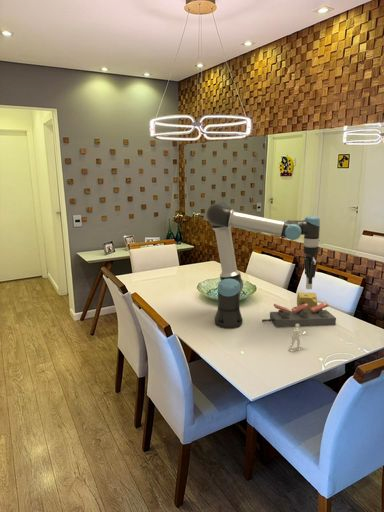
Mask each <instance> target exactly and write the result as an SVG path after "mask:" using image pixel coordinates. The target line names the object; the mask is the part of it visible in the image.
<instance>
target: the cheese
mask: <svg viewBox="0 0 384 512" xmlns="http://www.w3.org/2000/svg"><path fill="white" fill-rule="evenodd" d="M305 303H307V304H308V305H309V306H310V307H308V308H306V309H303V311H307V310H310V308H312V307H314V306H317V305H318V298H317V293H316V292H300V291H298V292H297V295H296V307H297V306H300V305H302V304H305Z"/></svg>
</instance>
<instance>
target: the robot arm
mask: <svg viewBox="0 0 384 512" xmlns="http://www.w3.org/2000/svg"><path fill="white" fill-rule="evenodd" d="M205 215H206V219H207V221H208V223H210V225H211V226H210V227H211V229H212V230H213V231H214V232H215V238H216V243H217V244H216V245H217V251H218V256H219V261H220V268H221V273H220V274H219V279H220V280H219V282H218V283H217V311H216V313H215V315H214V316H215V317H214V325H215V326H217V327H218V328H222V329H229V330H230V329H237V328H240V327H242V325H244V323H243V317H242V313H241V310H240V306H241V302H240V301H241V300H240V298H241V294H242V290H243V289H244V282H243V279H242V276H241V271H240V270H238V268H237V267H238V266H237V262H236V255H235V247H234V244H233V242H234V241H233V237H232V230H231V229H232V227H234V228H239V229H243V230H249V231H253V232H258V233H263V234H268V235H271V236H272V235H274V236H278V237H282V238H286V239H289V240H290V241H295V240H298V239H299V238H300V237H301V235H302V236H303V250H302V251H303V254H305V256H303V262H304V264H303V265H304V266H303V267H304V275H305V277H306V279H305V280H306V283H305V289H306V290H313V278H315V277H316V272H317V271H316V269H317V266H318V261H317V260H316V258H317V257H316V255H317V254H319V248H320V247H319V244H320V231H321V229H320V228H321V219H320V217H319V216H314V215H313V216H312V215H310V216H309V215H308V216H305V217H304V220H293V219H292V220H289V219H288V220H285V219H284V220H277V219H273V218H268V217H263V216H258V215H253V214H249V213H243V212H238V211H235V210H234V209H233V208H231V206H230V204H228V203H226V202H224V201H218V202H214V203H213V204H211V205H210V206H208V208H207V210H206V212H205Z"/></svg>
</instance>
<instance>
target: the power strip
mask: <svg viewBox="0 0 384 512" xmlns="http://www.w3.org/2000/svg"><path fill="white" fill-rule="evenodd" d="M277 310H278V311H270V312H269V318H268V319H267V318H266V319H261V322H262V323H267V322H270V323H271V322H272V324H273V325H274V326H275V328H296V326H295V325H296V324H299V325H300V326H299V328H302V327H323V326H324V327H325V326H336V324H337V323H336V321H337V318H336V317H335V316H334V315H333V314H332V313H331V312H330V311H329V310H327V309H322V311H320V310H318V311H316V312H312V311H311V310H307V311H299V312H296V313H294V312H293V311H292V310H290V311H291V313H288V312H285V311H284V312H282V311H281V310H280V309H277Z"/></svg>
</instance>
